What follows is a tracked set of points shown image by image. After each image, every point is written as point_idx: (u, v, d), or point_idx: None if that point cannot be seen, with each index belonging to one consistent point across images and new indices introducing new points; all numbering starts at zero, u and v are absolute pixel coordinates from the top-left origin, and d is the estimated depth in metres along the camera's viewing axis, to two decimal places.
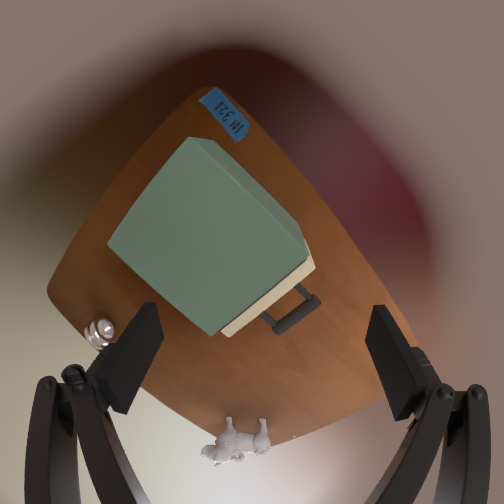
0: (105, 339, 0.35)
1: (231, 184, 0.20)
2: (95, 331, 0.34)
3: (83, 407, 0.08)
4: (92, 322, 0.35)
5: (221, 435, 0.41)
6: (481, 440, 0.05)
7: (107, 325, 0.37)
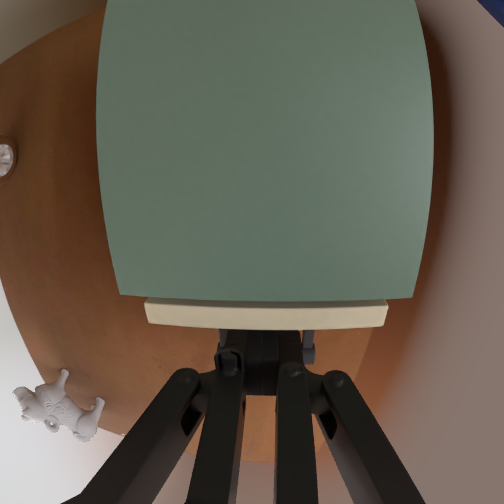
0: None
1: (422, 86, 0.07)
2: None
3: (224, 394, 0.09)
4: None
5: (46, 387, 0.24)
6: (365, 427, 0.07)
7: (8, 157, 0.17)
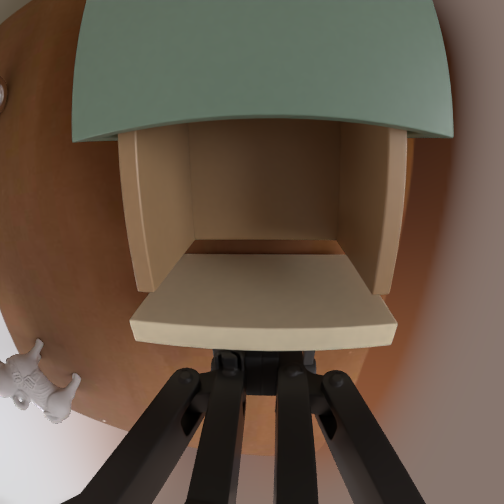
0: None
1: None
2: None
3: (225, 394, 0.09)
4: None
5: (16, 358, 0.20)
6: (365, 427, 0.07)
7: None
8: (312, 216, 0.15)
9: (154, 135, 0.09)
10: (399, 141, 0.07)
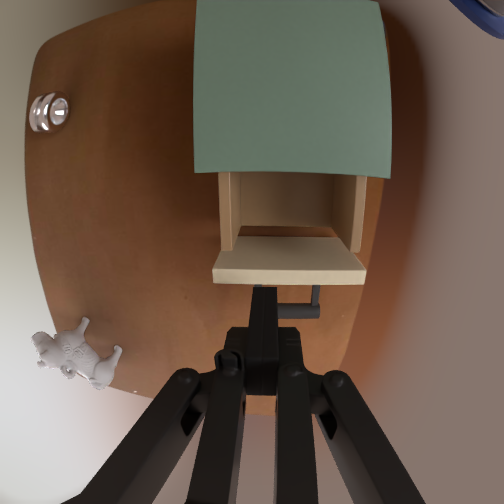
0: (48, 118, 0.20)
1: (381, 57, 0.12)
2: (49, 101, 0.19)
3: (224, 394, 0.09)
4: (55, 92, 0.19)
5: (66, 332, 0.29)
6: (365, 427, 0.07)
7: (62, 111, 0.22)
8: (316, 212, 0.24)
9: None
10: None
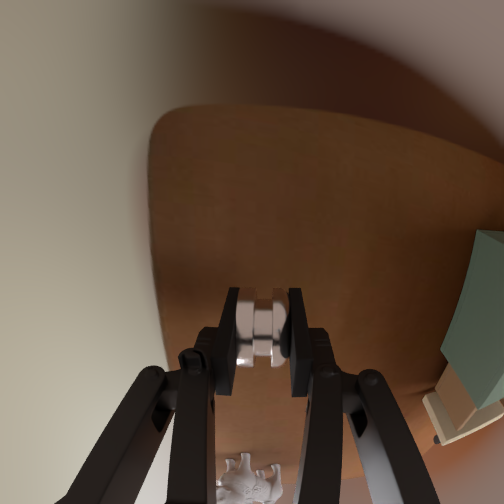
0: None
1: None
2: (288, 335, 0.14)
3: (192, 393, 0.09)
4: (283, 307, 0.14)
5: (240, 477, 0.26)
6: (394, 426, 0.07)
7: None
8: None
9: None
10: None
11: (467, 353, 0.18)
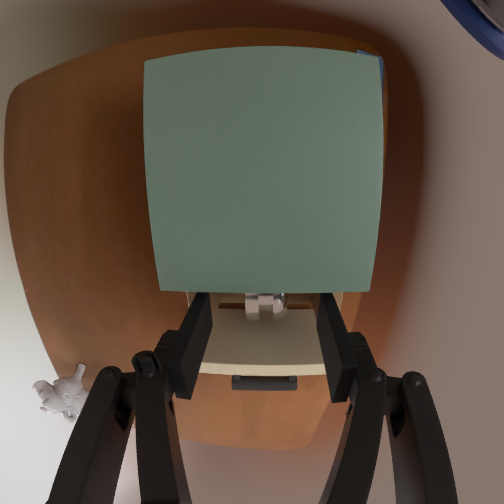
0: (286, 309, 0.20)
1: (375, 143, 0.12)
2: None
3: (148, 395, 0.09)
4: None
5: (65, 380, 0.29)
6: (430, 428, 0.06)
7: None
8: None
9: None
10: None
11: None
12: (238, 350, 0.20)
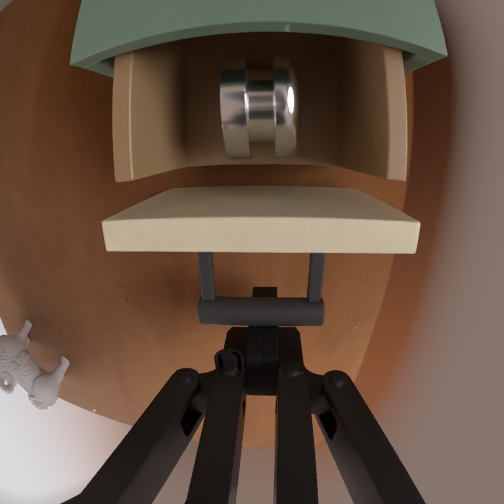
0: None
1: None
2: (295, 73, 0.09)
3: (225, 394, 0.09)
4: (286, 55, 0.09)
5: (3, 338, 0.19)
6: (365, 427, 0.07)
7: None
8: (312, 139, 0.13)
9: None
10: None
11: None
12: (205, 207, 0.10)
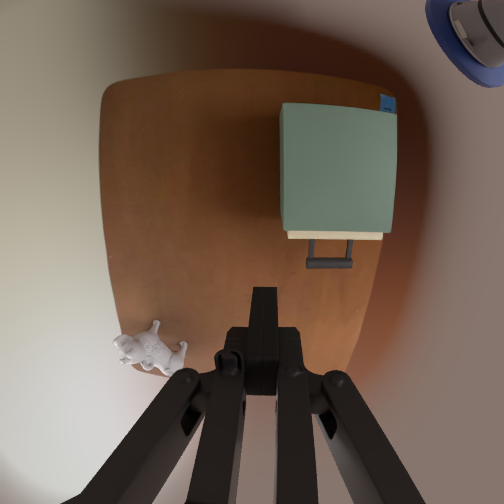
0: None
1: (393, 158, 0.25)
2: None
3: (224, 394, 0.09)
4: None
5: (144, 333, 0.42)
6: (365, 427, 0.07)
7: None
8: None
9: None
10: None
11: (281, 196, 0.33)
12: None
